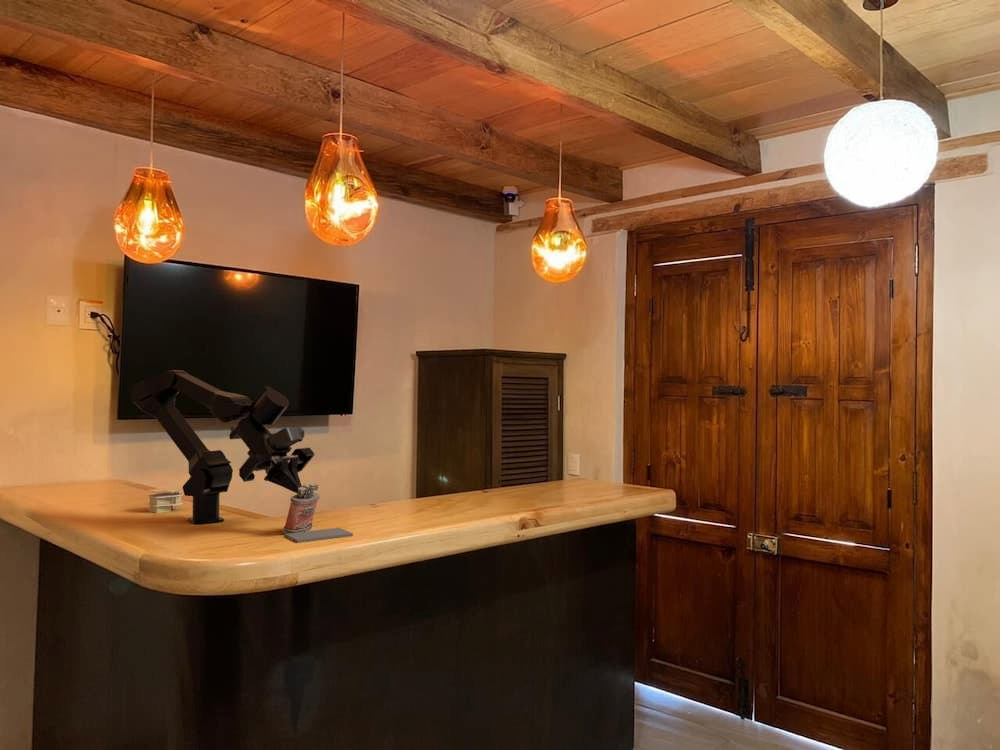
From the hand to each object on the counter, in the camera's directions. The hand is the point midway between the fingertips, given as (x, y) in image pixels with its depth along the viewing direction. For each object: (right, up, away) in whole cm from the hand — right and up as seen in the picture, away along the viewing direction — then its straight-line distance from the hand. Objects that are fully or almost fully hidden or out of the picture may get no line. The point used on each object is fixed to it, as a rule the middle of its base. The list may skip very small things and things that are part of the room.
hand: (300, 492), depth 160 cm
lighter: (-1, -8, 0) cm, 8 cm away
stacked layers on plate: (-39, -9, +23) cm, 46 cm away
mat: (+5, -9, -4) cm, 11 cm away
